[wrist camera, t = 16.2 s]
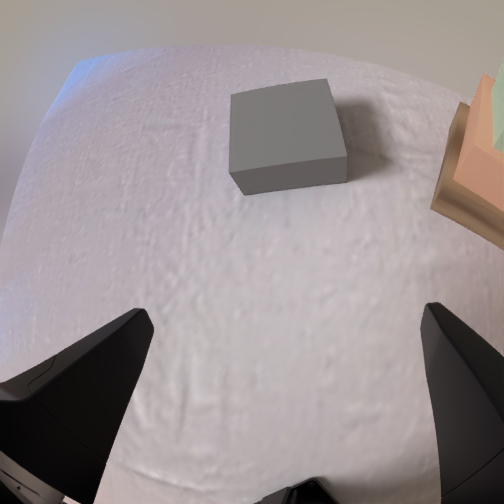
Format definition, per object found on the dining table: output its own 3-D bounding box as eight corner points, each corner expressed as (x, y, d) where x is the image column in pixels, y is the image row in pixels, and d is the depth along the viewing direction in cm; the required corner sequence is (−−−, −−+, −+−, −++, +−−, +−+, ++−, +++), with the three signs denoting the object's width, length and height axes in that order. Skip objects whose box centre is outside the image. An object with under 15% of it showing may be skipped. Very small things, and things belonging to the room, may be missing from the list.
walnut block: (514, 260, 17) (541, 245, 13) (428, 210, 21) (444, 185, 17) (524, 174, 19) (543, 152, 14) (448, 130, 22) (460, 101, 18)
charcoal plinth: (346, 182, 23) (347, 156, 20) (244, 195, 26) (228, 172, 22) (329, 107, 26) (326, 78, 22) (243, 120, 28) (230, 94, 24)
